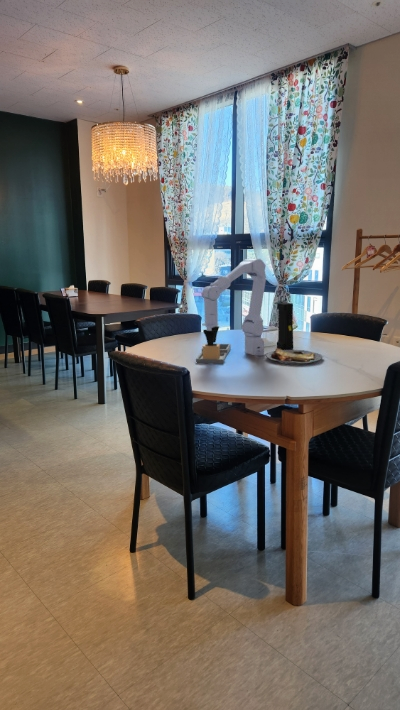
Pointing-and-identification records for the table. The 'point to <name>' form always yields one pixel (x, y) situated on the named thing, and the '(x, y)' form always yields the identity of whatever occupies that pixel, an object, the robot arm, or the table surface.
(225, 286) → the robot arm
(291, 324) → the portable radio
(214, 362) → the shallow grey tray
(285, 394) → the table surface
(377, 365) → the table surface
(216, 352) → the module
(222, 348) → the case
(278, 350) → the food plate
